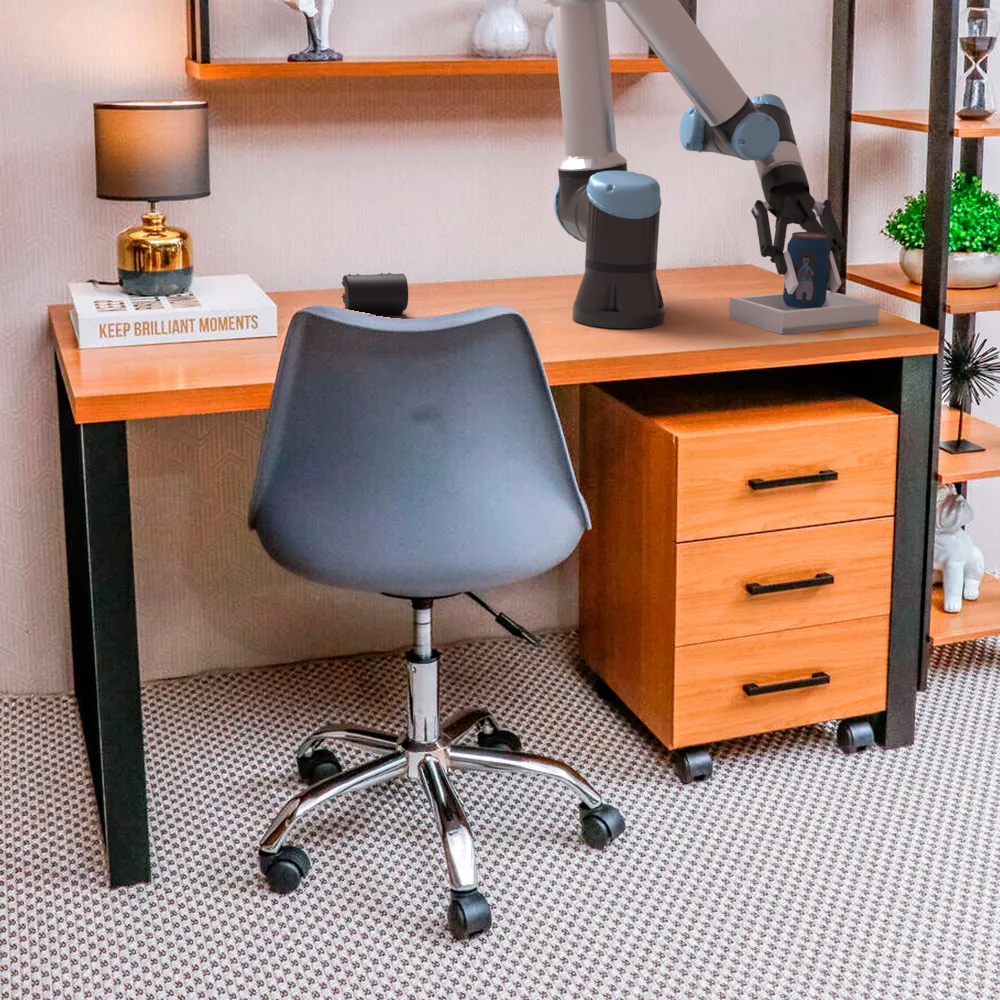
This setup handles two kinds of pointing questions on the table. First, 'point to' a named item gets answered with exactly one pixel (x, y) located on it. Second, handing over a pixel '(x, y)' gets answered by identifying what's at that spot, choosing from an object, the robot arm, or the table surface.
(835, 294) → the tray
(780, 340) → the table surface
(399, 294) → the end cap
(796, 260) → the soda can
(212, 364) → the table surface
